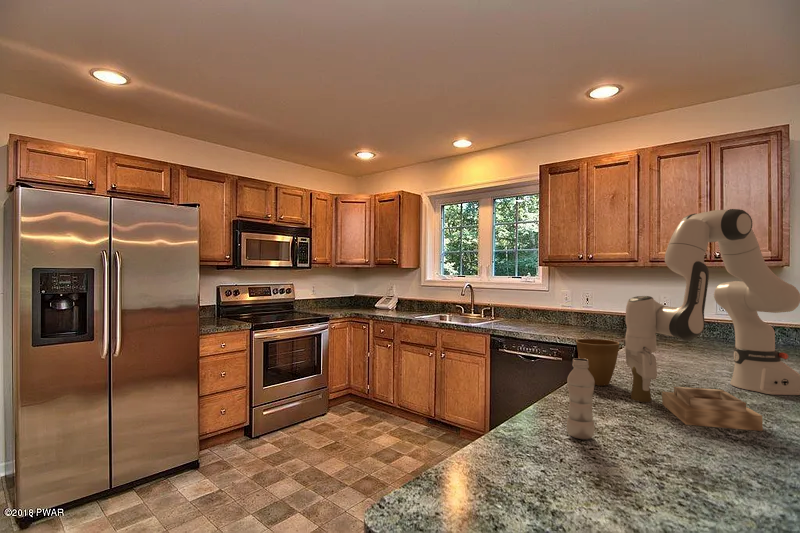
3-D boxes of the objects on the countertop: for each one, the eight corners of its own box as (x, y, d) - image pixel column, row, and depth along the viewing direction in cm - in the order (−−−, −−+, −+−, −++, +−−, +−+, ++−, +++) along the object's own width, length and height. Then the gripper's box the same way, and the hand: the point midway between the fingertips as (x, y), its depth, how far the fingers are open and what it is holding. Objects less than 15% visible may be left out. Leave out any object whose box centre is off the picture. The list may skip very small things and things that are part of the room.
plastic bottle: (562, 433, 109) (561, 357, 109) (586, 432, 109) (586, 356, 109) (574, 443, 102) (574, 362, 102) (600, 442, 103) (600, 362, 103)
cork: (654, 402, 133) (654, 368, 134) (634, 401, 135) (634, 368, 135) (647, 397, 139) (647, 364, 139) (628, 395, 141) (627, 363, 141)
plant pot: (621, 381, 159) (620, 340, 159) (617, 391, 146) (617, 346, 146) (579, 376, 167) (579, 336, 167) (572, 384, 154) (572, 342, 154)
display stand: (727, 409, 127) (727, 388, 127) (762, 431, 110) (762, 406, 110) (662, 404, 132) (662, 383, 132) (685, 424, 114) (685, 401, 114)
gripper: (662, 351, 126) (662, 396, 126) (641, 340, 146) (641, 379, 146) (639, 350, 128) (640, 394, 128) (622, 339, 148) (622, 377, 148)
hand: (640, 386), depth 137 cm, fingers open, 8 cm apart
